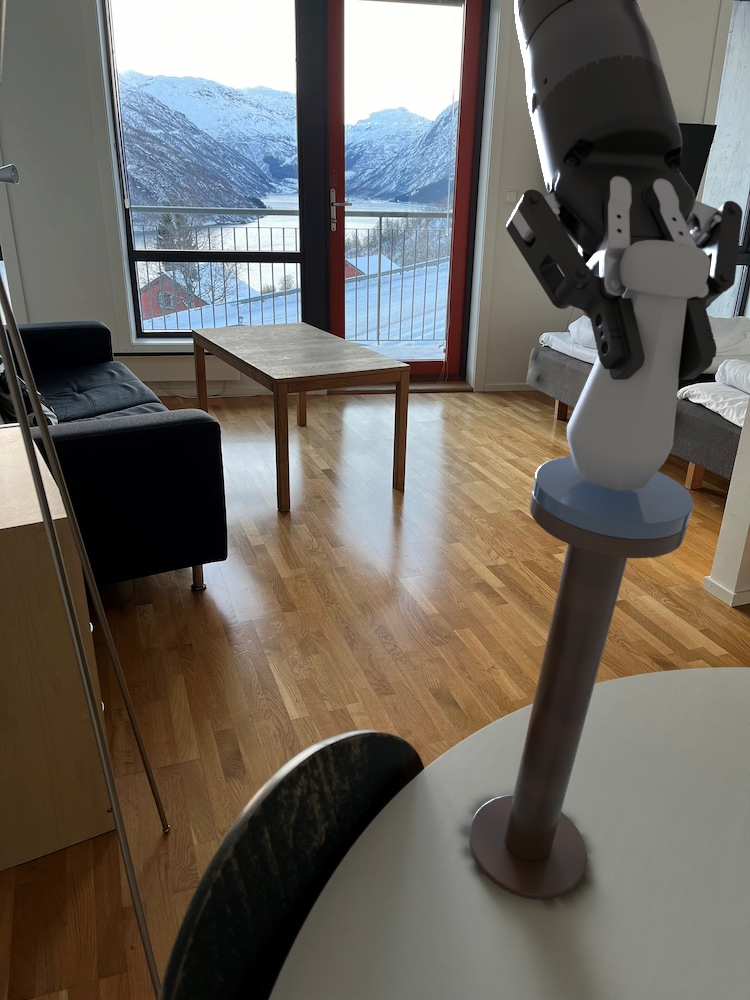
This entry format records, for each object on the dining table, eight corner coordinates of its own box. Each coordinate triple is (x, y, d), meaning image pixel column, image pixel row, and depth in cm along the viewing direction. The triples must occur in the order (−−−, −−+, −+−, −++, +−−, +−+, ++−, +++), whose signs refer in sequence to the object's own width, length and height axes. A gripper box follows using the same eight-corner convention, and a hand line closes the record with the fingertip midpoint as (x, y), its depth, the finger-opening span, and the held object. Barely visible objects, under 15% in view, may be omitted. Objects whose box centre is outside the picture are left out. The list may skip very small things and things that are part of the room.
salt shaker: (540, 470, 43) (590, 236, 37) (587, 446, 47) (639, 230, 41) (635, 508, 39) (707, 257, 33) (676, 478, 43) (747, 249, 37)
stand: (486, 791, 63) (551, 458, 49) (592, 834, 60) (694, 491, 46) (451, 876, 56) (515, 512, 41) (570, 930, 52) (683, 556, 38)
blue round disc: (551, 458, 49) (554, 444, 48) (694, 491, 46) (698, 476, 45) (515, 512, 41) (518, 496, 41) (683, 556, 38) (687, 539, 38)
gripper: (509, 38, 38) (571, 335, 33) (744, 62, 41) (833, 337, 36) (463, 147, 45) (509, 405, 40) (667, 161, 48) (733, 402, 43)
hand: (662, 371), depth 38 cm, fingers closed on salt shaker, 3 cm apart
